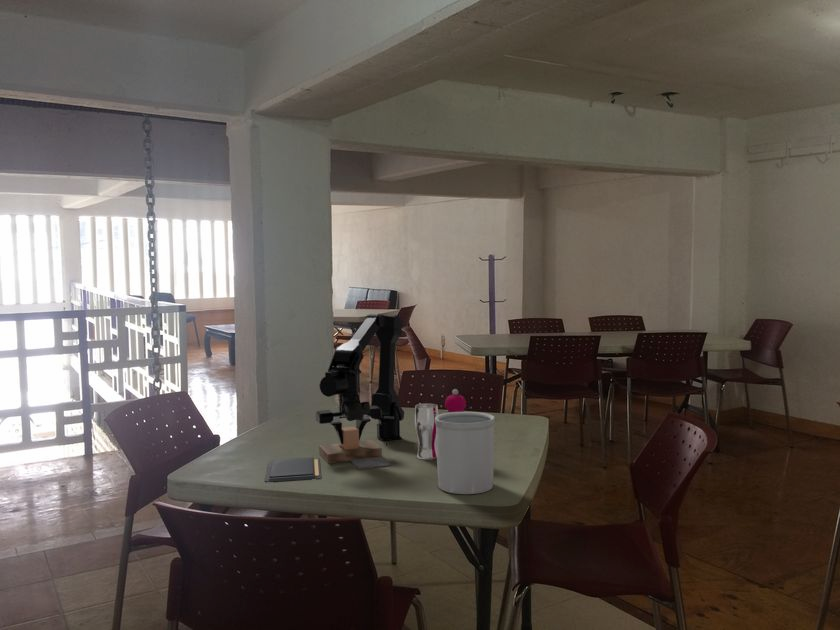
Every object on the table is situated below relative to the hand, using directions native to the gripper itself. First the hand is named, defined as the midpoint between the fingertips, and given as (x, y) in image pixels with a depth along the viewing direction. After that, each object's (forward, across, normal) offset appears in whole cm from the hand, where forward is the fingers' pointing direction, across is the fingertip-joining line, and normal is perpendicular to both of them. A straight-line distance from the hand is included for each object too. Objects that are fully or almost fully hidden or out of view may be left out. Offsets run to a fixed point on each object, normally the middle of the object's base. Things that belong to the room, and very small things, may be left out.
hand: (349, 443), depth 204 cm
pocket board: (+4, 0, 0) cm, 4 cm away
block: (+4, 0, 0) cm, 4 cm away
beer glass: (+4, +20, -11) cm, 23 cm away
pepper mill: (+4, +27, -16) cm, 32 cm away
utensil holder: (+4, +19, -40) cm, 44 cm away
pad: (+4, +3, -10) cm, 11 cm away
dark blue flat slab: (+4, -18, -8) cm, 20 cm away
